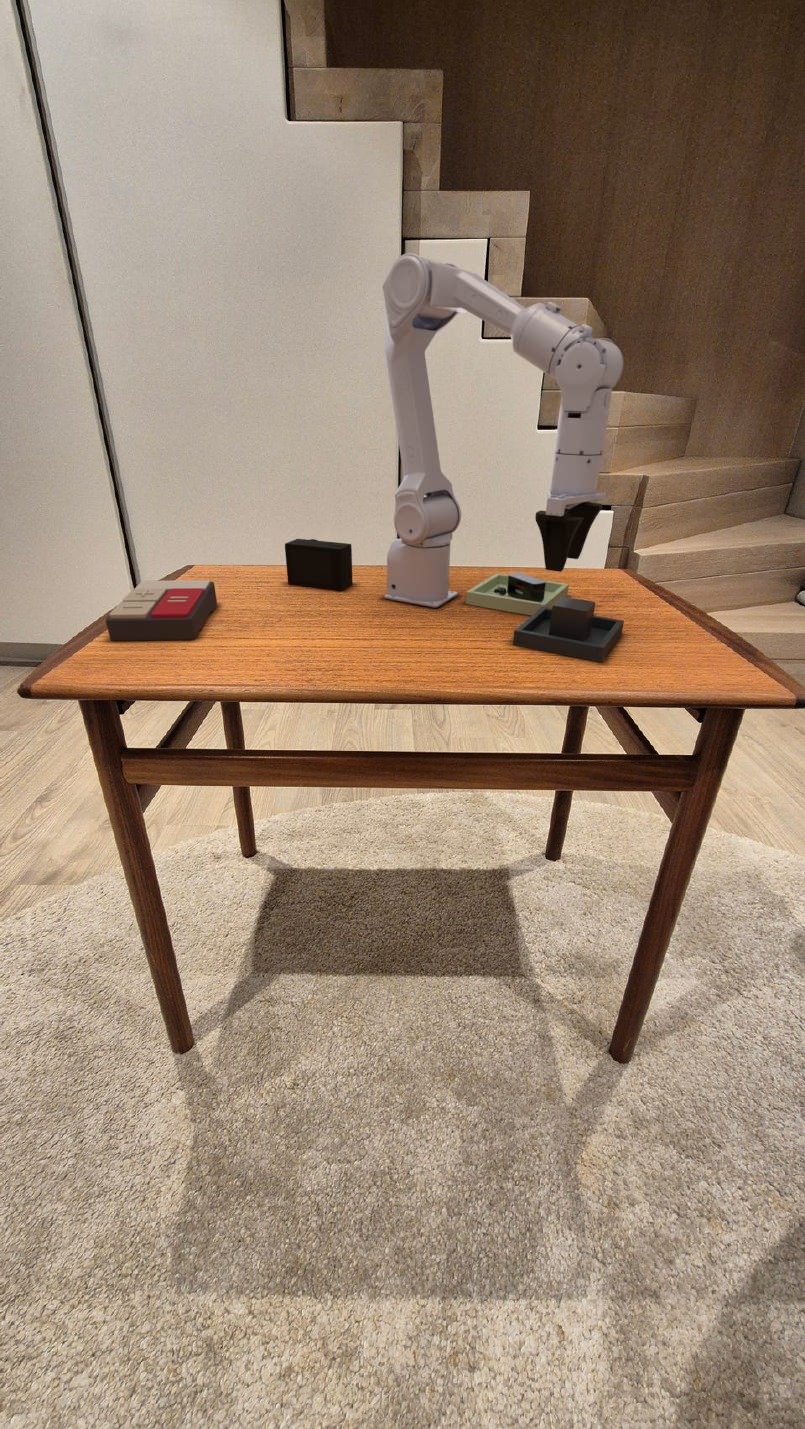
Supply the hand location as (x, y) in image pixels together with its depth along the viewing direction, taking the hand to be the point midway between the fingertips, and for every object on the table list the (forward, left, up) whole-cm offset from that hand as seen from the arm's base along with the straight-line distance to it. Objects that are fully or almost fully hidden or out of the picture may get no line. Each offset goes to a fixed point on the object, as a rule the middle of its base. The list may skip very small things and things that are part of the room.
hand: (562, 563), depth 80 cm
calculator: (-48, -26, -9) cm, 56 cm away
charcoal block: (+3, -3, -9) cm, 10 cm away
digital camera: (-41, +1, -9) cm, 42 cm away
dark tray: (+3, -3, -9) cm, 10 cm away
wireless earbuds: (-9, +10, -9) cm, 16 cm away
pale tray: (-9, +10, -9) cm, 16 cm away
